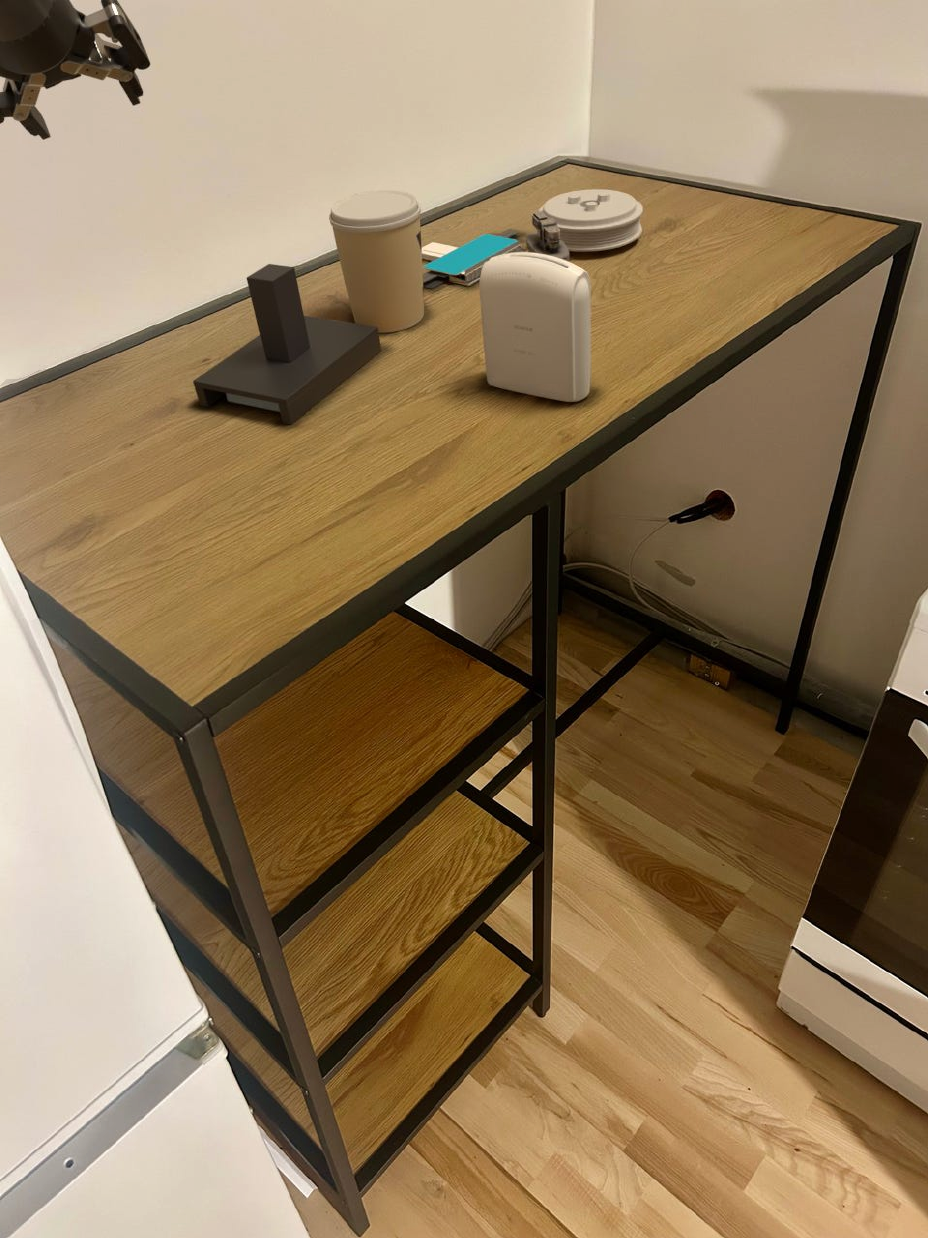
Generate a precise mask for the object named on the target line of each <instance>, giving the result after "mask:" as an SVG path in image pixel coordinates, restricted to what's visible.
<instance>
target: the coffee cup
mask: <svg viewBox="0 0 928 1238" xmlns="http://www.w3.org/2000/svg"><path fill="white" fill-rule="evenodd" d="M421 211H422V209H421V205H420V203H419V202H418V200H417V198H416V196H415V195H413V194H412V193H409V192H407V191H402V190H394V189H381V190H379V189H378V190H371V191H363V192H359V193H355V194H351V195H348V196H346V197H343V198H340V199H339V200H337V201H336V202H335V203H333V204H332V206H331V208H330V213H329V216H328V219H329V223H330V225H331V226H332V227H331V228H332V232H333V236H334V240H335V245H336V250H337V254H338V259H339V263H340V267H341V271H342V275H343V280H344V283H345V288H346V292H347V297H348V301H349V305H350V309H351V314H352V317H353V321H354V323H355V324H362V325H368V326H375V327H378V333H379V334H384V333H385V334H386V333H395V332H399V331H403V330H407V329H409V328H413V327H414V326H415V325H417V324H419V323H420V322H421V321H422V320H423V318H424V315H425V298H424V297H425V296H424V295H425V294H424V288H423V275H424V273H423V271H424V270H423V259H422V229H421V218H420V216H421Z"/></svg>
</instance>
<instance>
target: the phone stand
mask: <svg viewBox="0 0 928 1238" xmlns="http://www.w3.org/2000/svg"><path fill="white" fill-rule="evenodd" d="M518 232H519V230H518V229H513V228H508V229H507V230H505V231H503V232H501V233H500V234H497V235H494V234H490V233H485V234H482V235H480V236H478V237H476V238H474V239H473V240H470V241H468V242H466V243H465V244H463V245H461V246H459V247H458V246H454V245H448V244H444V243H439V242H435V241H432V242H430V243H428V244H426V245H424V246H421V248H422V260H427V261H430V262H428V263H426V264H425V265H423V269H424V270H427V272H426V273H423V289H424V288H426V289H430V290H434V289H435V288H437V287H439V286H441V285H443V284H444V283H446V282H447V283H451V284H457V285H460V286H464V287H467V288H468V287H472V286H473V285H475V284H477V283H480V275H481V271H482V268H483V265H484V263H485V262H487V261H489V260H490V259H491V258H492V257H495V256H498V255H502V254H507V253H515V252H528V249H523V248H522V246H523V243H522V240H521V239H519V240H517V239H516V238H517V237H520V235H519V234H516V233H518ZM428 270H429V271H428Z"/></svg>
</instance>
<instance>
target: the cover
mask: <svg viewBox="0 0 928 1238" xmlns="http://www.w3.org/2000/svg"><path fill="white" fill-rule="evenodd" d="M246 282H247V286H248V291H249V295H250V298H251V303H252V307H253V311H254V315H255V320H256V324H257V329H258V332H259V335H258V336H256V337H255V338H253V339H251V340H250V341H249V342H247V343H246V344H244V345H243V346H241V347H240V348H238V349H237V350H235V351H234V352H233V353H231V354H230V355H228V356H227V357H226V358H224V359H222V360H221V361H220V362H218V363H217V364H215V365H214V366H212V367H211V368H210V369H208V370H206V371H205V372H204V373H201V375H199V376H198V377H196V378H195V379H193V381H192V383H193V386H194V391H195V393H196V396H197V399H198V403H199V405H200V406H202V407H209V406H211V405H212V404H214V403H215V402H216V401H218V400H220V399H221V398H222V397H223V396H224V395H225V396H226V393H229V394H234V395H239V396H244V397H249V398H254V399H259V400H264V401H269V402H274V403H279V404H278V405H279V409H280V412H279V413H280V417H281V422H282V424H285V425H286V424H287V425H293V424H294V423H295V422H297V420H299V419H300V418H301V417H302V416H304V415H305V414H307V412H308V411H310V410H311V409H312V408H313V407H315V406H316V405H317V404H318V403H319V402H321V401H322V400H323V399H324V398H326V397H327V396H328V395H330V393H332V392H333V391H334V390H335V389H337V388H338V387H339V386H340V385H341V384H342V383H344V382H345V381H346V380H348V378H350V377H351V376H352V375H354V374H355V373H356V372H357V371H358V370H359V369H361V368H362V367H363V366H365V365H366V364H367V363H368V362H369V361H370V360H372V359H373V358H374V357H375V356H377V355H378V354H379V353H380V352H382V346H381V340H380V333H378V327H375V326H368V325H362V324H356V323H355V322H349V321H342V320H335V319H329V318H328V319H327V318H322V317H316V316H309V315H305V314H304V310H303V304H302V299H301V295H300V290H299V285H298V280H297V275H296V270H295V267H294V266H289V265H280V264H274V263H268V264H266V265H265V266H263V267H261V268H259V269H258V270H256V271H255V272H253V273H251V274H250V275H248V276H247V277H246Z"/></svg>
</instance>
